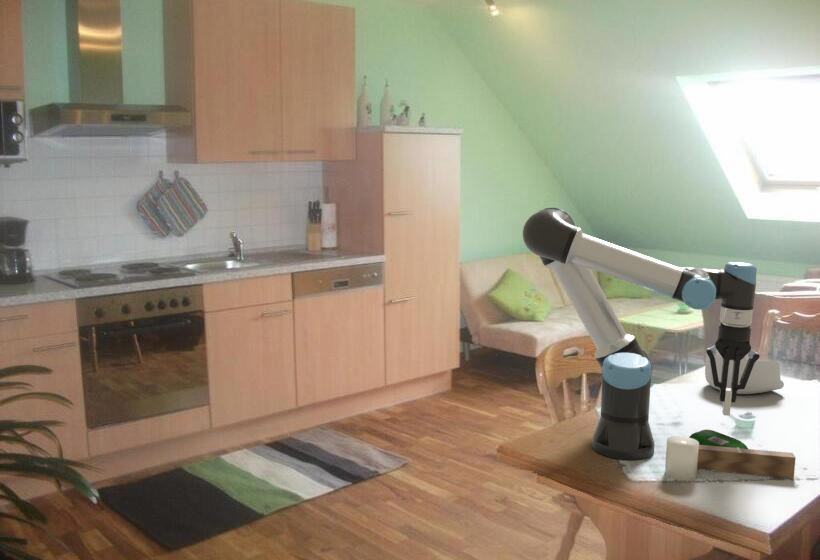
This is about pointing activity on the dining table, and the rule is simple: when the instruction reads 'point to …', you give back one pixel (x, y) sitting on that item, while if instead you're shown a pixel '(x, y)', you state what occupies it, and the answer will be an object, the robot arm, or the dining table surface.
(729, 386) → the bowl
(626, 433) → the robot arm
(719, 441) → the snack package
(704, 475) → the dining table surface
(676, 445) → the white tall rounded block
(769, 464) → the batten
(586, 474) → the dining table surface
